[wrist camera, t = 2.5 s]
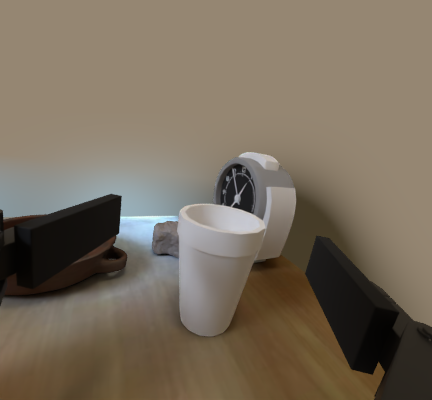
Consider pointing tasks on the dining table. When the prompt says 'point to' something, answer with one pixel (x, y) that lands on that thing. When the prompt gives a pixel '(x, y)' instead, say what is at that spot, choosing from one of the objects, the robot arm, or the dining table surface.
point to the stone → (166, 238)
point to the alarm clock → (259, 197)
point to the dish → (75, 272)
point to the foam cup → (214, 263)
